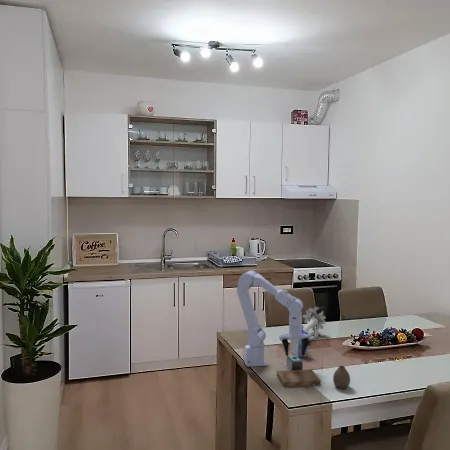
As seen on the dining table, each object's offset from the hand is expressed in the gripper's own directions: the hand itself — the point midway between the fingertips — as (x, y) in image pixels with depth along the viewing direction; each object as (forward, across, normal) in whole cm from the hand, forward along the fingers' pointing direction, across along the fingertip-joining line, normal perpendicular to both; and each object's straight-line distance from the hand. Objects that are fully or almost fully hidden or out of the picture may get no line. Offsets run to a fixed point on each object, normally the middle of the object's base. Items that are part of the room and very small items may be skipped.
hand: (294, 354), depth 205 cm
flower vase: (+7, +21, +42) cm, 47 cm away
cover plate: (+3, 0, 0) cm, 3 cm away
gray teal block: (+7, 0, 0) cm, 7 cm away
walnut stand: (+7, -2, -12) cm, 14 cm away
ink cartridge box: (+7, +8, +19) cm, 22 cm away
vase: (+7, +14, -21) cm, 26 cm away
